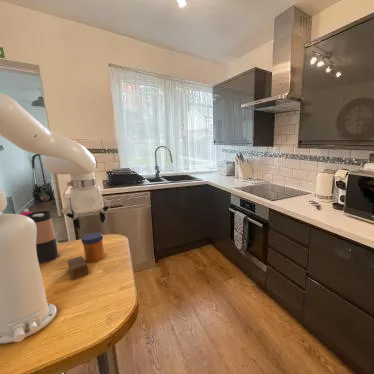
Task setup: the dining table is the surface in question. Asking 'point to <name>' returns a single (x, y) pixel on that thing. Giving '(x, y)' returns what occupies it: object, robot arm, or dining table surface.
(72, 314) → the dining table surface
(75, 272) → the stand
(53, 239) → the travel mug
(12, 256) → the robot arm
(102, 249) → the jam jar
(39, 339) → the dining table surface
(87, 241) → the jar lid
